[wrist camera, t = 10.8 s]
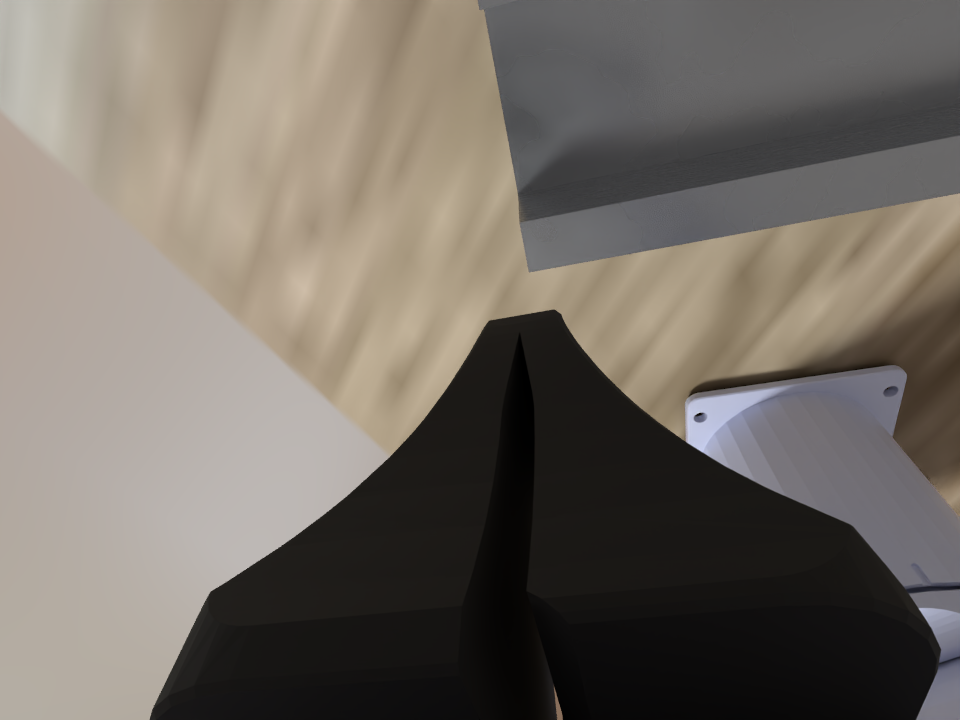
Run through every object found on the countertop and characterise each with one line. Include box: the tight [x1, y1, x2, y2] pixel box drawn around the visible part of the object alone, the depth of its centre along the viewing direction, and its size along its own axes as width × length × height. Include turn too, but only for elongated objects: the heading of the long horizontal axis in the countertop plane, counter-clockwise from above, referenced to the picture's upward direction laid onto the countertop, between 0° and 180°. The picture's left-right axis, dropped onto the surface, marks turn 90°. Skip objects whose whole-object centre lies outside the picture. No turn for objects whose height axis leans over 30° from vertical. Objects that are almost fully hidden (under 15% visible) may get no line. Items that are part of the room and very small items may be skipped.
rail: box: [478, 0, 960, 272], centre depth 14 cm, size 10×16×4 cm, turn 102°
